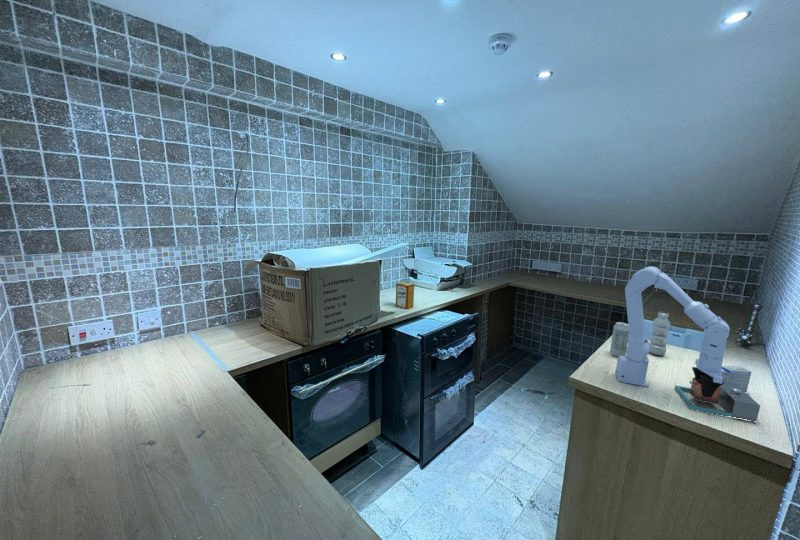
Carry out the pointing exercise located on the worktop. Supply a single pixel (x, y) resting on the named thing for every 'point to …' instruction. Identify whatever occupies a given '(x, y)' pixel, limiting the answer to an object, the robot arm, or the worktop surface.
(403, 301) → the baking soda box
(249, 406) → the worktop surface
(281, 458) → the worktop surface
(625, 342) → the energy drink can
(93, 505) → the worktop surface
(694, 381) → the brown wooden block
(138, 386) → the worktop surface
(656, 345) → the plastic bottle
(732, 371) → the medicine box
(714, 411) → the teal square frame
